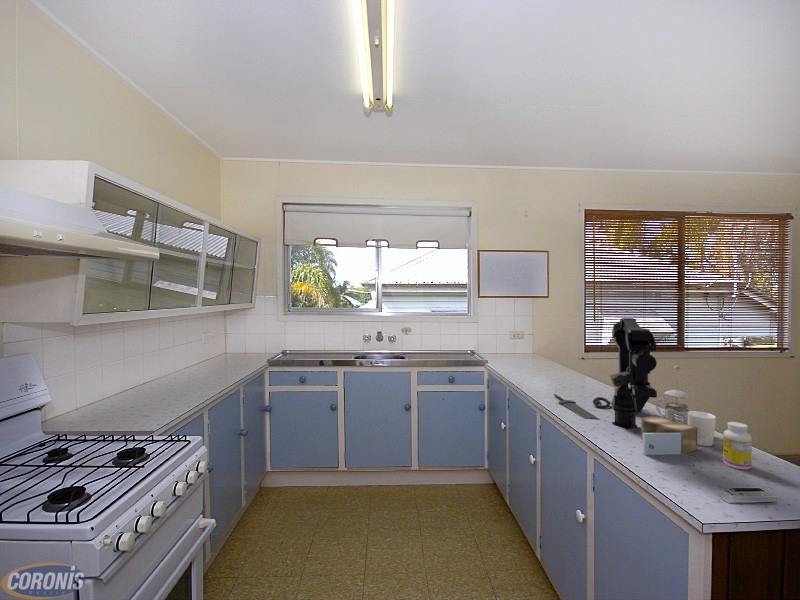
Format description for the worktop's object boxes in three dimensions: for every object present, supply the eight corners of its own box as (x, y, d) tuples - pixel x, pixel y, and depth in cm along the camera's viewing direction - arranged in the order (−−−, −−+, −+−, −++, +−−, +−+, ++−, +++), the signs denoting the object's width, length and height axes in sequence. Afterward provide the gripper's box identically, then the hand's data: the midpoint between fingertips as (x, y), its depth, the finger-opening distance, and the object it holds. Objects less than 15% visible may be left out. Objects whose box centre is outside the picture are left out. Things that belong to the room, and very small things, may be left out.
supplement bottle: (722, 458, 124) (723, 419, 123) (750, 464, 119) (751, 423, 119) (722, 466, 118) (723, 424, 118) (752, 472, 114) (753, 429, 114)
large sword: (585, 422, 161) (585, 417, 161) (547, 396, 196) (547, 392, 196) (601, 421, 161) (601, 417, 161) (561, 396, 196) (561, 392, 196)
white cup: (703, 448, 132) (704, 419, 132) (681, 439, 140) (681, 412, 139) (720, 445, 134) (721, 417, 134) (698, 437, 142) (698, 410, 141)
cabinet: (641, 439, 140) (641, 418, 140) (655, 435, 143) (655, 415, 143) (682, 453, 127) (683, 431, 127) (697, 449, 131) (697, 427, 130)
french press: (697, 435, 144) (698, 368, 143) (662, 432, 146) (663, 367, 145) (683, 426, 153) (684, 363, 153) (651, 424, 156) (652, 362, 155)
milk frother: (641, 414, 168) (641, 380, 168) (604, 413, 169) (605, 380, 168) (623, 404, 182) (623, 373, 182) (589, 404, 183) (589, 373, 182)
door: (646, 455, 126) (646, 433, 125) (642, 452, 128) (642, 431, 127) (685, 455, 125) (686, 433, 125) (681, 452, 127) (681, 431, 127)
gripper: (607, 359, 144) (606, 401, 144) (618, 369, 126) (617, 417, 126) (641, 361, 140) (640, 404, 141) (657, 372, 123) (657, 420, 123)
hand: (638, 411), depth 133 cm, fingers closed
